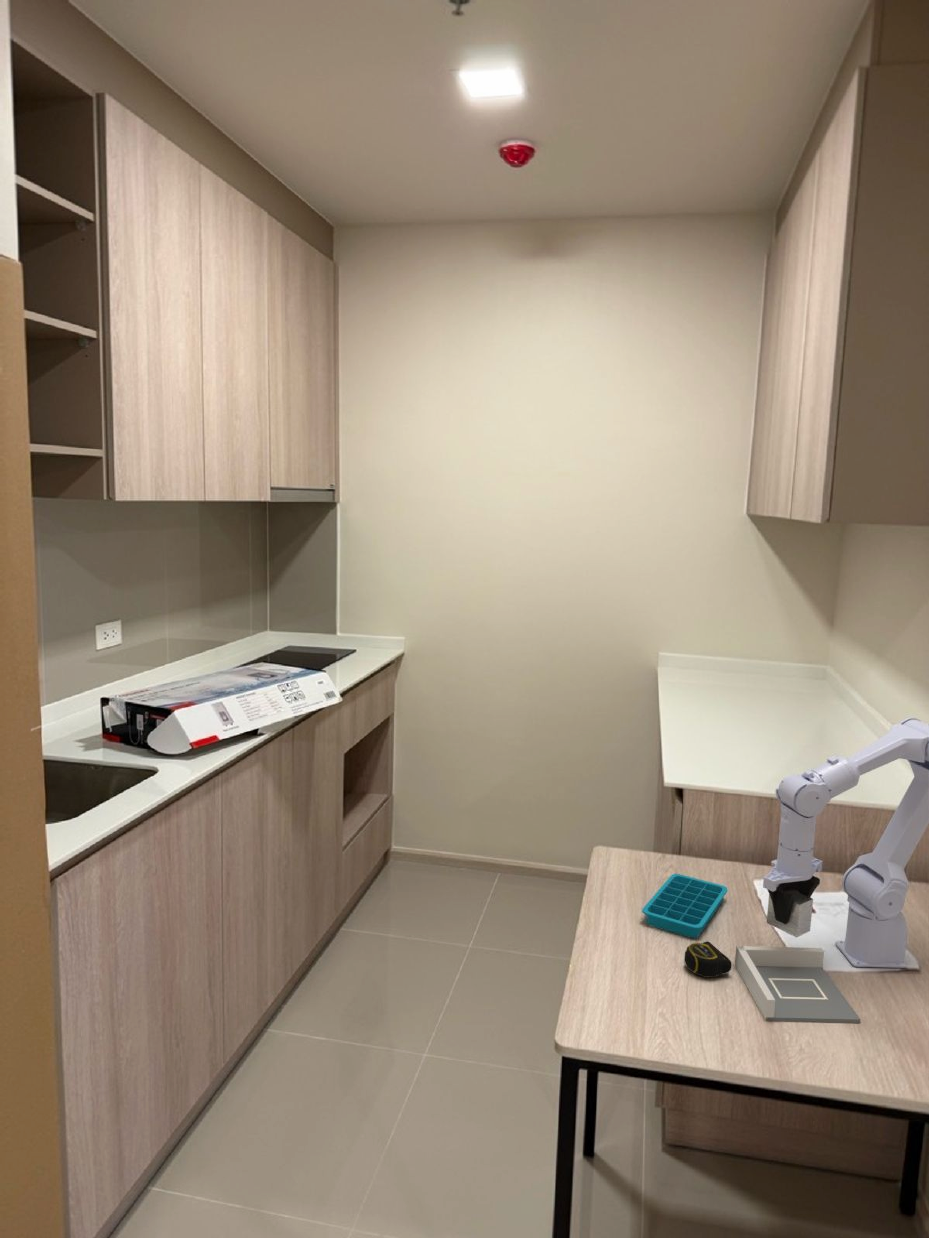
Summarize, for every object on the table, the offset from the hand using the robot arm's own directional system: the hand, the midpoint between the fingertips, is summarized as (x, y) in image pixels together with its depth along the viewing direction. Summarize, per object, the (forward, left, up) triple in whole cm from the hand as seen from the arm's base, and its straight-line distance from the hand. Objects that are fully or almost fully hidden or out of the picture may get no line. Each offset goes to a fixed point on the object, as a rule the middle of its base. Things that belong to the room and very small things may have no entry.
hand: (789, 917), depth 153 cm
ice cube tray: (+13, -18, -9) cm, 24 cm away
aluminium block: (0, 0, -2) cm, 2 cm away
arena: (+2, +9, -9) cm, 12 cm away
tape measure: (+14, +2, -9) cm, 17 cm away
